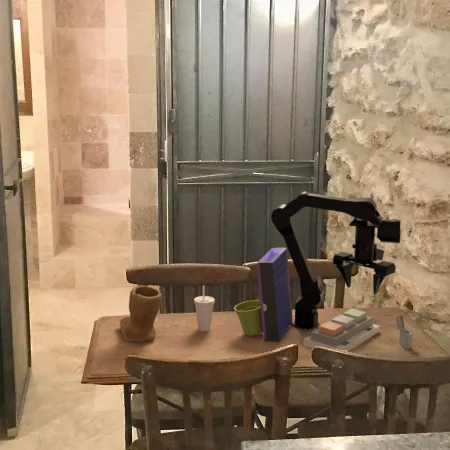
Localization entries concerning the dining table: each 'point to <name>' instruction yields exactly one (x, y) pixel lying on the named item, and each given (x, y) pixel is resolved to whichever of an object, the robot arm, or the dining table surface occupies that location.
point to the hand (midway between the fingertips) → (361, 290)
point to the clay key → (331, 328)
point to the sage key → (355, 315)
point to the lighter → (403, 332)
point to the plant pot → (250, 317)
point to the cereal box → (274, 293)
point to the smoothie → (204, 311)
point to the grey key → (344, 321)
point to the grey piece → (344, 336)
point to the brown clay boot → (141, 314)
